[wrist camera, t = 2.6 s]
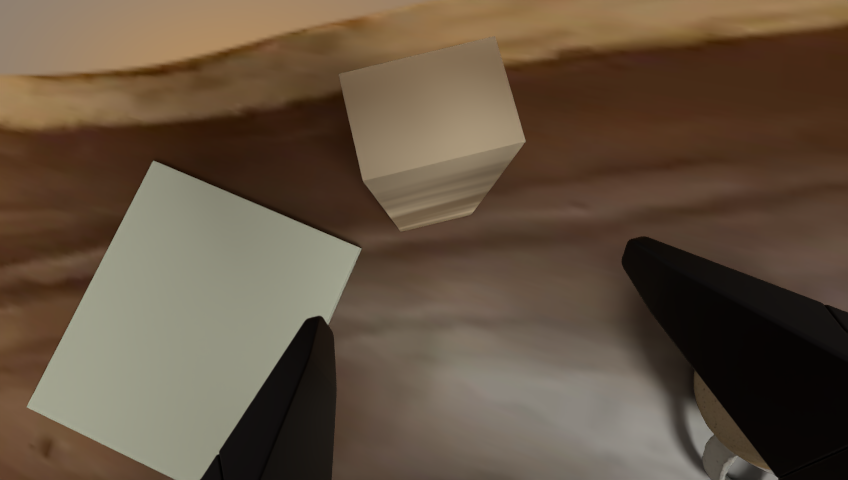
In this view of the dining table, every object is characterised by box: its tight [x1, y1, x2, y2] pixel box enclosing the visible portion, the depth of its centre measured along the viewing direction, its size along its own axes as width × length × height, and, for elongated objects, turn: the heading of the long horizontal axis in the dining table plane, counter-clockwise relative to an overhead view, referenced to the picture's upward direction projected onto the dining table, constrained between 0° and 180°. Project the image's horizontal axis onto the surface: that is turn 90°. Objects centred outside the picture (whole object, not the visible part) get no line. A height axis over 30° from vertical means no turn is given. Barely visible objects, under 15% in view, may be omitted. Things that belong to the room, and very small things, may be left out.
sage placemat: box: [27, 161, 362, 480], centre depth 20 cm, size 18×16×1 cm
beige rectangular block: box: [339, 36, 526, 232], centre depth 15 cm, size 4×5×12 cm
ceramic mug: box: [694, 371, 775, 480], centre depth 16 cm, size 11×8×8 cm
